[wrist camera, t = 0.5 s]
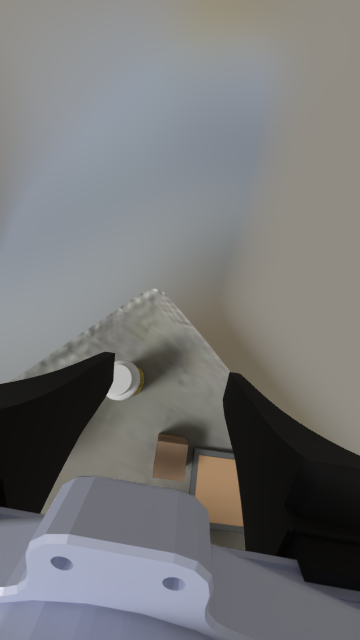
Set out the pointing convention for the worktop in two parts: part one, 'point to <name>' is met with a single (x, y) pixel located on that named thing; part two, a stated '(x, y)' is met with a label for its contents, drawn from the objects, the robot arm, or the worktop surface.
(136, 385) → the supplement bottle
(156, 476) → the cube
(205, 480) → the coaster
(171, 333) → the worktop surface
